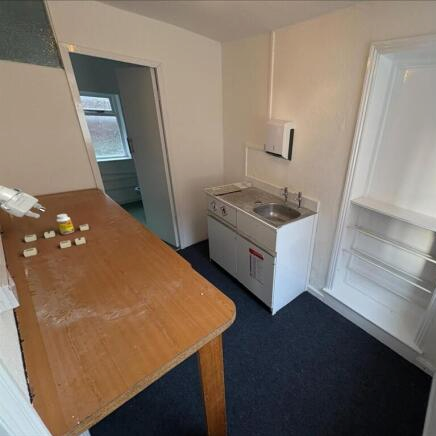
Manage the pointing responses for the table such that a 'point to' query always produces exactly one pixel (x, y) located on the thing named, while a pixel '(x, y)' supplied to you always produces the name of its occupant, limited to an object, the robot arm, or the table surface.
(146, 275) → the table surface
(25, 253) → the front word
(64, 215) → the supplement bottle
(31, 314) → the table surface
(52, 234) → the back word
